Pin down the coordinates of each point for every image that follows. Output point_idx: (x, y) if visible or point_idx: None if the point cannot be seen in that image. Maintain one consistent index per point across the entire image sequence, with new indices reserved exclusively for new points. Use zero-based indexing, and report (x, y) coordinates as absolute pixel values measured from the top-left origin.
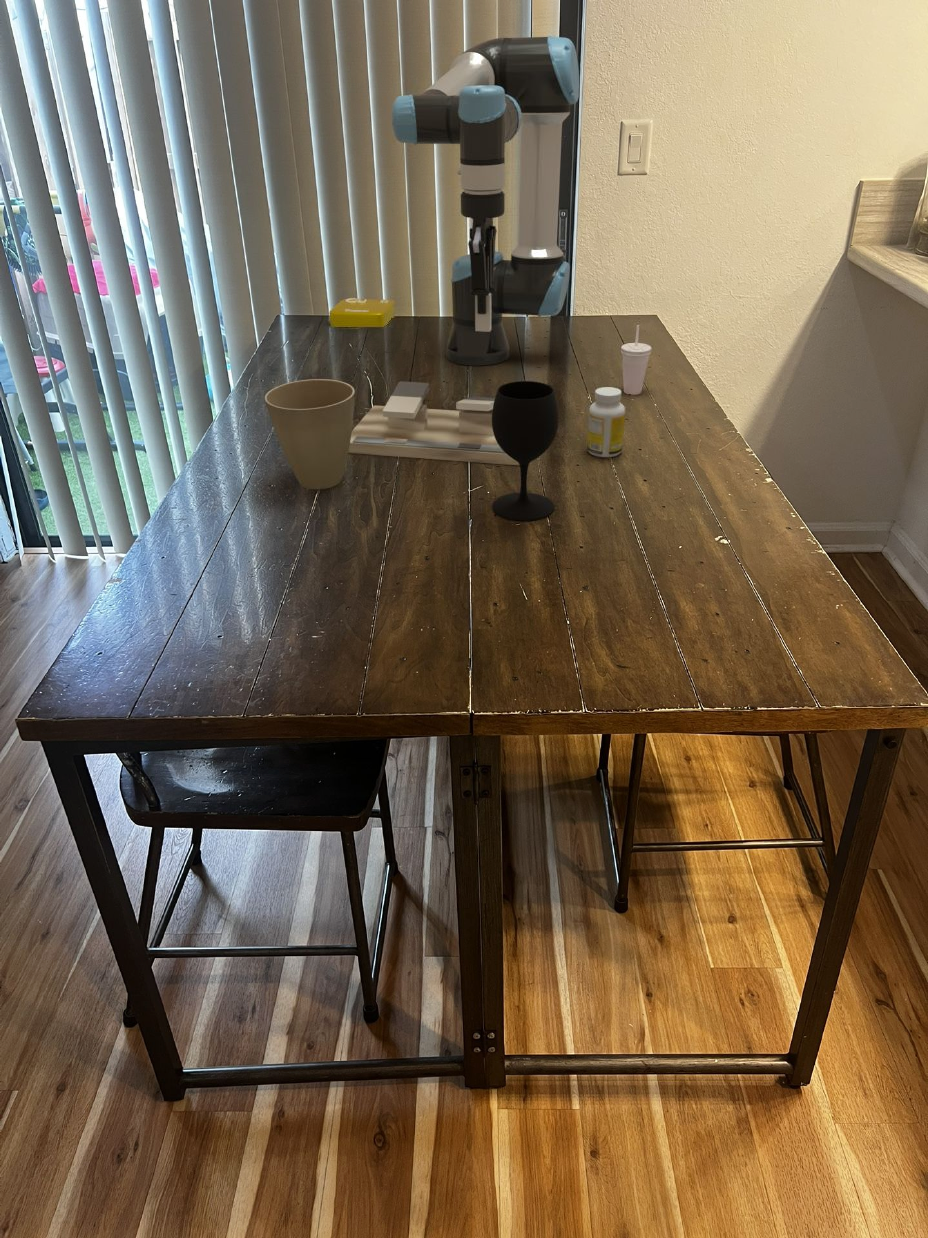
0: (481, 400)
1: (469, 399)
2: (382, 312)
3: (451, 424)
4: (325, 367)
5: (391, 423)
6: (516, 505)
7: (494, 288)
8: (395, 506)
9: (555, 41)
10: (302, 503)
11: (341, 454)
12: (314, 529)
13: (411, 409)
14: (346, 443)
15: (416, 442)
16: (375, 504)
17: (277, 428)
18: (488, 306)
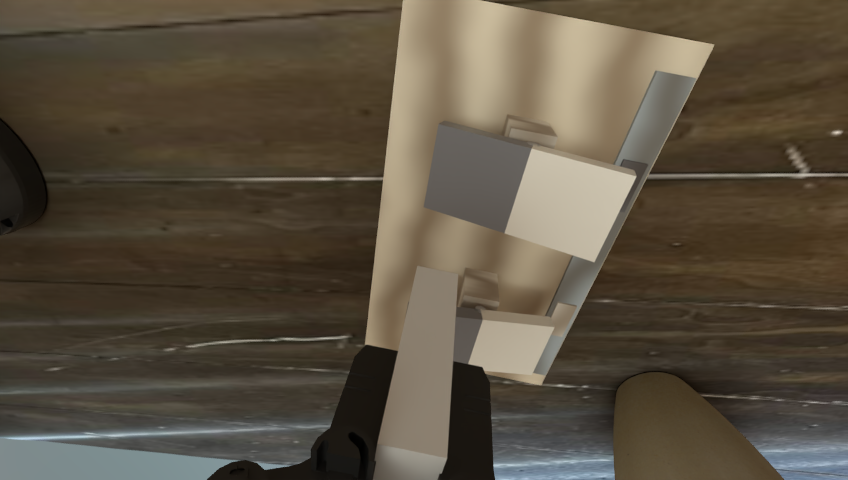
0: (519, 186)
1: (501, 217)
2: None
3: (466, 222)
4: (171, 395)
5: None
6: None
7: (336, 456)
8: (811, 301)
9: None
10: (730, 408)
11: (726, 420)
12: (840, 395)
13: (537, 332)
14: (730, 430)
15: (571, 287)
16: (784, 328)
17: None
18: (451, 384)
